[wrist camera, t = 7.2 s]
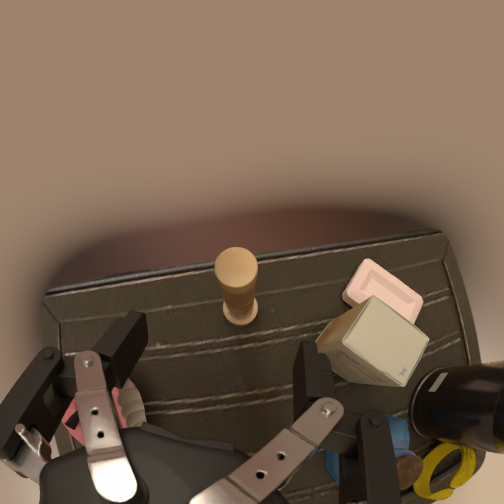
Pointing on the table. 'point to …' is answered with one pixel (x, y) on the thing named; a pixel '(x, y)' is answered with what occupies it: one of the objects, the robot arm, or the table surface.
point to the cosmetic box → (373, 345)
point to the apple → (126, 405)
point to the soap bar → (382, 290)
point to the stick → (238, 285)
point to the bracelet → (431, 462)
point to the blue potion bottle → (405, 459)
